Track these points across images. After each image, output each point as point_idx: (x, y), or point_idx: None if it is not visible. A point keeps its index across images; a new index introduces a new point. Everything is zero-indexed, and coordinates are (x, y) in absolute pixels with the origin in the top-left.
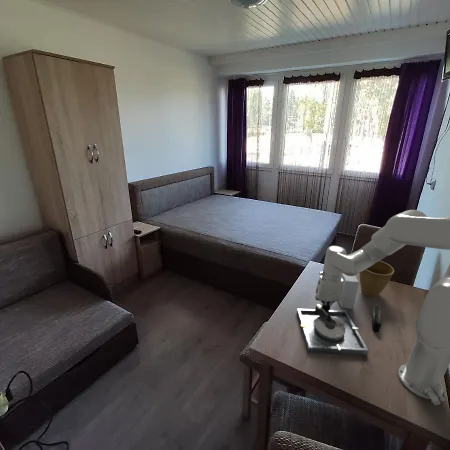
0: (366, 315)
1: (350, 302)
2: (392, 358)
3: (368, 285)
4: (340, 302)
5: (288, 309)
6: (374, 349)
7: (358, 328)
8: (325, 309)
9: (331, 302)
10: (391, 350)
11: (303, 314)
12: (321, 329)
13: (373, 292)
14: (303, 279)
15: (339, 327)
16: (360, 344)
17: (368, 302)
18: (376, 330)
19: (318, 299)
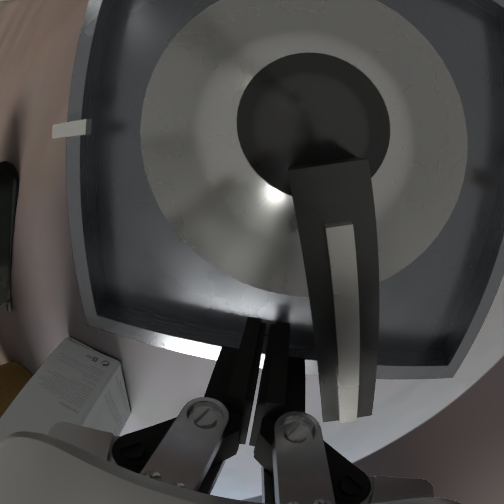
0: (26, 283)
1: (61, 371)
2: (38, 5)
3: (2, 409)
4: (116, 389)
5: (457, 374)
6: (67, 26)
7: (53, 127)
8: (287, 356)
9: (187, 446)
10: (16, 51)
11: (427, 334)
12: (431, 87)
13: (3, 377)
14: (253, 493)
15: (203, 94)
16: (116, 9)
17: (25, 349)
18: (4, 164)
19: (395, 492)
